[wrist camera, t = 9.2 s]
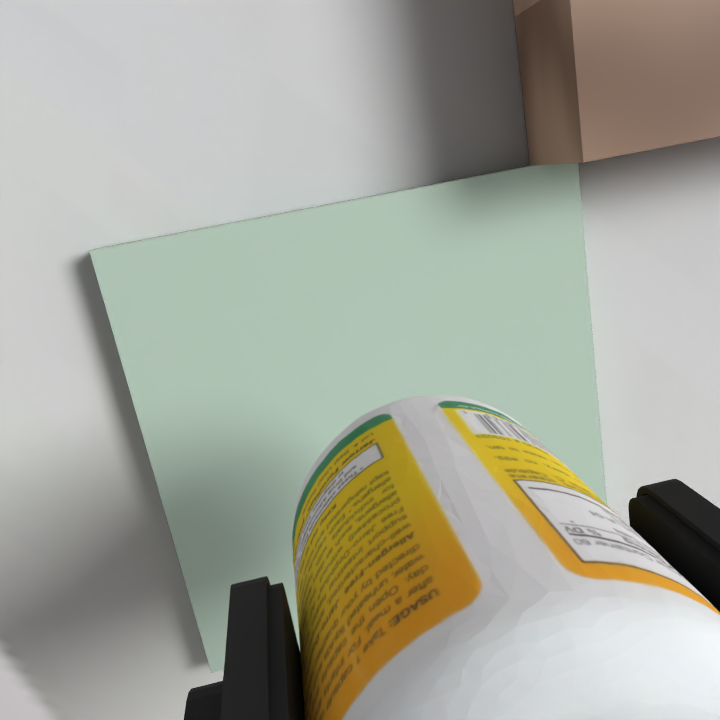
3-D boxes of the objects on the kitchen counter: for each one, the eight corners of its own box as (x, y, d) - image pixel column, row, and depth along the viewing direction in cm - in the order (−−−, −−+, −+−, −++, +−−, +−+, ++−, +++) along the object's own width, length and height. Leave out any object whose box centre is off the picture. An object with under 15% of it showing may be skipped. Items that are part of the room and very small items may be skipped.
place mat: (95, 248, 16) (89, 251, 16) (567, 158, 17) (577, 157, 17) (213, 658, 20) (211, 673, 19) (602, 562, 21) (612, 572, 20)
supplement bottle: (537, 364, 13) (1180, 782, 4) (558, 599, 15) (1063, 1301, 5) (263, 418, 13) (274, 1041, 3) (313, 656, 14) (413, 1539, 5)
